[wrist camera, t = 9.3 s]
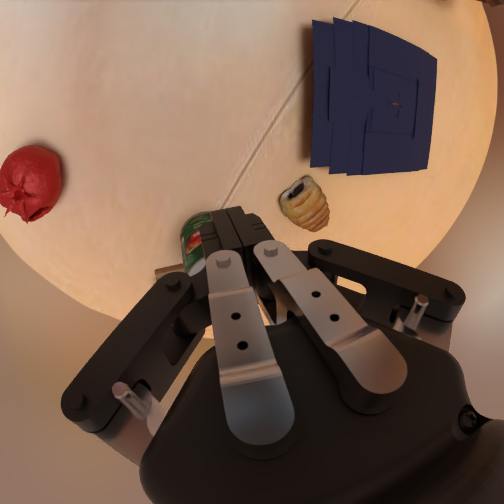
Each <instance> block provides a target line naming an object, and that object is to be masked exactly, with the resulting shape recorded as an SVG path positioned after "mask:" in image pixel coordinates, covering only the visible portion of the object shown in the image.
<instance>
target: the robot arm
mask: <svg viewBox="0 0 504 504" xmlns="http://www.w3.org/2000/svg"><path fill="white" fill-rule="evenodd" d="M210 216H211V222H206V223H202V224H201V226H200V228H199V233H200V238H201V243H202V248H203V253H204V257H205V261H206V264H205V266H204V268H203V269H202V270H201V271H200V272H198V273H196V274H195V275H192V276H189V275H188V274H187V273H184V272H171V273H168V274H166V275H164V276H162V277H161V278H160V279H159V280H158V281H157V282H156V283H155V284H154V285H153V286H152V288H151V289H150V290H149V291H148V292H147V293H146V294H145V295H144V296H143V298H142V299H141V300H140V301H139V302H138V303H137V304H136V305H135V307H134V308H133V309H132V310H131V311H130V312H129V313H128V315H127V316H126V317H125V318H124V319H123V320H122V321H121V323H120V324H119V325H118V326H117V327H116V328H115V330H114V331H113V332H112V333H111V334H110V336H109V337H108V338H107V339H106V340H105V341H104V343H103V344H102V345H101V346H100V348H99V349H98V350H97V351H96V352H95V354H94V355H93V356H92V357H91V358H90V360H89V361H88V362H87V363H86V364H85V366H84V367H83V368H82V369H81V371H80V372H79V373H78V374H77V376H76V377H75V378H74V380H73V381H72V382H71V383H70V385H69V386H68V387H67V389H66V390H65V391H64V393H63V395H62V398H61V409H62V412H63V414H64V415H65V417H67V418H68V419H69V420H71V421H72V422H73V423H75V424H76V425H78V426H79V427H80V428H81V429H82V430H83V431H85V432H86V433H88V434H89V435H91V436H93V437H94V438H96V439H97V440H99V441H101V442H103V443H106V444H108V445H109V446H110V447H112V448H113V449H115V450H116V451H117V452H119V453H120V454H121V455H123V456H124V457H126V458H127V459H129V460H130V461H131V462H133V463H135V464H136V465H138V466H139V467H140V469H139V475H140V481H141V484H142V487H143V489H144V491H145V493H146V495H147V496H148V498H149V499H150V500H151V501H152V503H153V504H504V420H494V419H489V418H486V417H484V416H482V415H480V414H479V413H478V412H477V411H476V410H475V409H474V408H473V406H472V404H471V402H470V399H469V397H468V393H467V390H466V386H465V380H464V375H463V372H462V369H461V367H460V364H459V363H458V361H457V360H456V359H455V358H454V357H453V356H452V355H451V354H450V353H449V352H448V351H449V345H450V338H451V331H452V323H453V321H454V320H455V318H456V316H457V314H458V313H459V311H460V309H461V307H462V306H463V304H464V302H465V299H466V296H465V293H464V291H463V289H461V287H460V286H459V285H457V284H455V283H454V282H452V281H449V280H446V279H443V278H441V277H438V276H435V275H432V274H430V273H427V272H424V271H421V270H418V269H415V268H413V267H410V266H407V265H404V264H401V263H398V262H395V261H392V260H389V259H386V258H383V257H380V256H377V255H374V254H371V253H368V252H365V251H362V250H359V249H356V248H353V247H350V246H347V245H344V244H340V243H337V242H334V241H331V240H325V239H321V240H316V241H313V242H311V243H310V244H309V246H308V251H292V250H290V249H289V248H288V247H287V246H286V245H285V244H284V243H282V242H280V241H276V240H275V239H274V238H273V236H272V235H271V233H270V232H269V230H268V229H267V228H266V226H265V224H264V223H263V221H262V220H261V218H260V217H259V216H257V215H255V214H253V213H251V214H245V213H244V211H243V209H242V208H241V206H236V207H231V208H226V209H221V210H216V211H211V212H210ZM338 276H340V277H343V278H346V279H348V280H351V281H354V282H357V283H360V284H362V285H363V286H364V287H365V288H366V292H367V293H366V294H361V293H358V292H356V291H353V290H350V289H348V288H345V287H342V286H339V285H337V279H338ZM253 289H256V292H257V300H258V303H259V305H260V307H261V309H262V310H263V312H264V314H265V316H266V318H267V319H268V321H269V323H270V325H268V326H265V325H264V322H263V319H262V316H261V313H260V309H259V306H258V303H257V300H256V297H255V293H254V290H253ZM210 325H212V327H213V334H214V341H215V346H213V347H212V348H210V349H209V350H208V351H206V352H205V353H204V354H203V355H202V356H201V358H200V359H199V360H198V361H197V363H196V364H195V366H194V368H193V369H192V371H191V373H190V375H189V376H188V378H187V380H186V381H185V383H184V385H183V387H182V389H181V390H180V392H179V394H178V396H177V397H176V399H175V401H174V402H173V404H172V406H171V408H170V409H169V411H168V413H167V415H166V416H165V418H164V420H163V415H164V412H163V408H162V406H161V404H160V402H161V400H162V398H163V397H164V395H165V394H166V392H167V391H168V389H169V388H170V386H171V385H172V383H173V382H174V380H175V379H176V377H177V375H178V374H179V372H180V371H181V369H182V368H183V366H184V365H185V363H186V362H187V360H188V359H189V357H190V355H191V354H192V352H193V351H194V349H195V348H196V346H197V345H198V343H199V342H200V340H201V338H202V337H203V335H204V333H205V328H206V327H208V326H210ZM162 420H163V421H162ZM161 422H162V423H161Z"/></svg>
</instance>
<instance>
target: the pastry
mask: <svg viewBox="0 0 504 504" xmlns="http://www.w3.org/2000/svg"><path fill="white" fill-rule="evenodd" d="M280 205H281V208H282V211H283V214H284V215H285V216H287V217H288V218H289V219H290V220H291V221H292V222H293V223H294V224H296V225H297V226H299V227H302V228H303V229H307V230H309V231H311V232H316V231H319V230H320V229H322V228H323V227H326V226H327V225H328V221H329V214H330V210H329V208H328V203H327V202H326V197H325V195H324V193H322V190H321V188H320V187H319V186H318V185H317V184H316V183H315V182H314V181H313V179H312V177H309V176H306V177H303V178H302V179H299V180H298V181H296V182H295V183H294V184H293V185H292V187H291V188H290V189H289V190H287V191H286V192H284V193H283V194H282V196H281V198H280Z"/></svg>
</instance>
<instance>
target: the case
mask: <svg viewBox="0 0 504 504" xmlns="http://www.w3.org/2000/svg"><path fill="white" fill-rule="evenodd" d="M477 1H481V2H484V3H489V4H490V6H491V7H494V6H497V5H502V4H504V0H477Z"/></svg>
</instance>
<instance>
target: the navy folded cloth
mask: <svg viewBox="0 0 504 504" xmlns="http://www.w3.org/2000/svg"><path fill="white" fill-rule="evenodd" d="M352 21H353V23H352V22H349V21H345V20H342V19H338V18H334V17H333V22H334V25H333V24H329V23H325V22H321V21H316V20H312V26H313V56H314V103H313V126H312V144H311V160H310V168H313V167H326V166H330V168H329V174H340V173H347V175H346V176H350V175H371V174H383V173H396V172H411V171H419V170H423V169H427V165H428V159H429V152H430V144H431V135H432V125H433V113H434V103H435V92H436V75H437V59H436V58H435V57H433V56H431V55H430V54H429V53H428V52H426V51H424V50H423V49H421V48H419V47H417V46H415V45H413V44H411V43H409V42H407V41H405V40H403V39H401V38H399V37H397V36H394V35H392V34H390V33H388V32H385V31H383V30H380V29H378V28H375V27H373V26H370V25H366V24H363V23H360V22H357V21H354V20H352Z"/></svg>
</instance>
